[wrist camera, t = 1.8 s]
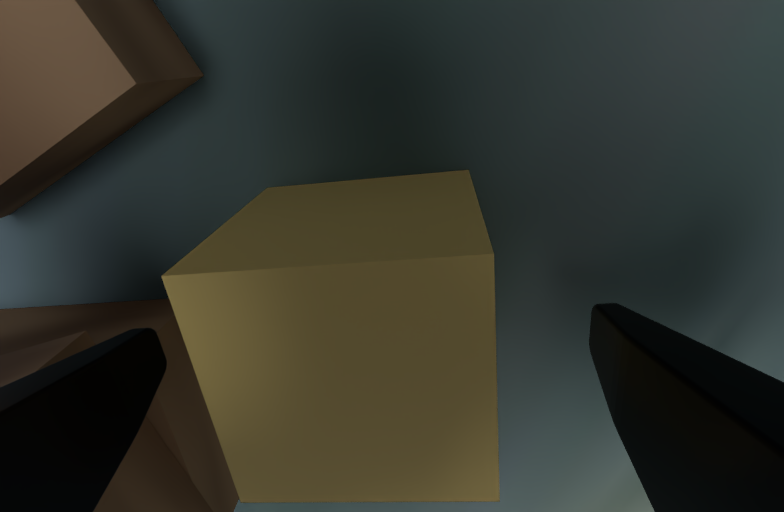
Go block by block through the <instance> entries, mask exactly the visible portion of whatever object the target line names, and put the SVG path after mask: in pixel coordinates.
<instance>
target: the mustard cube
mask: <svg viewBox="0 0 784 512" xmlns="http://www.w3.org/2000/svg"><path fill="white" fill-rule="evenodd" d="M161 277H162V280H163V283H164V286H165V288H166V291H167V294H168V297H169V300H170V303H171V305H172V308H173V311H174V314H175V317H176V320H177V322H178V325H179V328H180V331H181V334H182V337H183V340H184V342H185V345H186V348H187V351H188V354H189V357H190V359H191V362H192V365H193V368H194V371H195V374H196V377H197V379H198V382H199V385H200V388H201V391H202V394H203V396H204V399H205V402H206V405H207V408H208V411H209V413H210V416H211V419H212V422H213V425H214V428H215V431H216V433H217V436H218V439H219V442H220V445H221V448H222V450H223V453H224V456H225V459H226V462H227V465H228V468H229V470H230V473H231V476H232V479H233V482H234V485H235V487H236V490H237V493H238V496H239V499H240V502H241V503H265V502H500V497H499V452H498V408H497V363H496V318H495V273H494V252H493V249H492V245H491V242H490V239H489V235H488V232H487V229H486V225H485V222H484V219H483V216H482V212H481V209H480V206H479V202H478V199H477V196H476V193H475V189H474V186H473V183H472V179H471V176H470V173H469V170H460V171H448V172H437V173H426V174H415V175H404V176H393V177H382V178H370V179H359V180H348V181H337V182H326V183H315V184H303V185H292V186H281V187H270V188H266V189H265V190H264V191H263V192H261V193H260V194H259V195H258V196H257V197H255V198H254V199H253V200H252V201H251V202H249V203H248V204H247V205H246V206H245V207H243V208H242V209H241V210H240V211H239V212H237V213H236V214H235V215H234V216H233V217H231V218H230V219H229V220H228V221H227V222H225V223H224V224H223V225H222V226H221V227H219V228H218V229H217V230H216V231H215V232H213V233H212V234H211V235H210V236H209V237H207V238H206V239H205V240H204V241H203V242H201V243H200V244H199V245H198V246H197V247H195V248H194V249H193V250H192V251H191V252H189V253H188V254H187V255H186V256H185V257H183V258H182V259H181V260H180V261H179V262H178V263H176V264H175V265H174V266H173V267H172V268H170V269H169V270H168V271H167V272H166V273H164V274H163V275H162V276H161Z"/></svg>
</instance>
